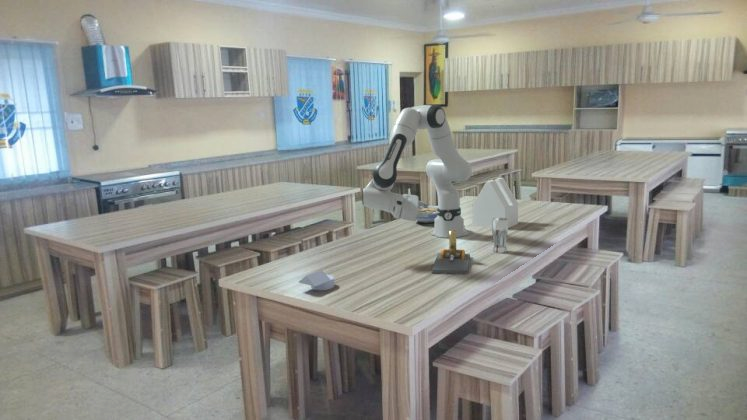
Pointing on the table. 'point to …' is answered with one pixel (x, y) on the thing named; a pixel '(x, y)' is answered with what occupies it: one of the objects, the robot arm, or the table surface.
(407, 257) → the table surface
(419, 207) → the ramen bowl
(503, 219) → the beer glass
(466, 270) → the rail board
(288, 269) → the table surface
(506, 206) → the milk carton
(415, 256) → the table surface
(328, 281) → the wedge on round base
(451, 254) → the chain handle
